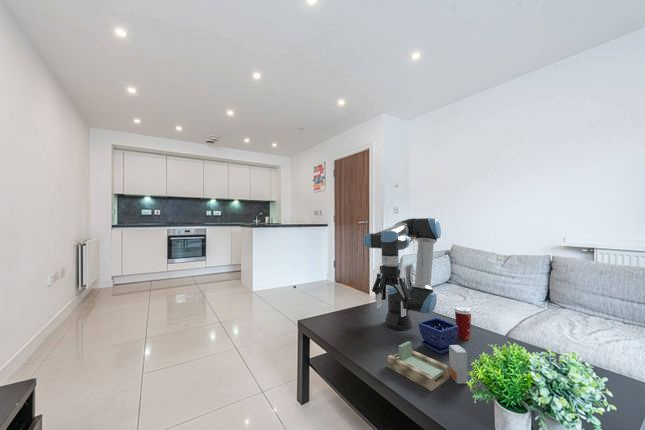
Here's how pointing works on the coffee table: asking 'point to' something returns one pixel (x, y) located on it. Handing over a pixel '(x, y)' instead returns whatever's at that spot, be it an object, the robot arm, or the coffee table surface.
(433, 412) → the coffee table surface
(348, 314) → the coffee table surface
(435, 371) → the lid
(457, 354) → the skincare box
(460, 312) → the coffee cup
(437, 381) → the oak box
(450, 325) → the flower pot
